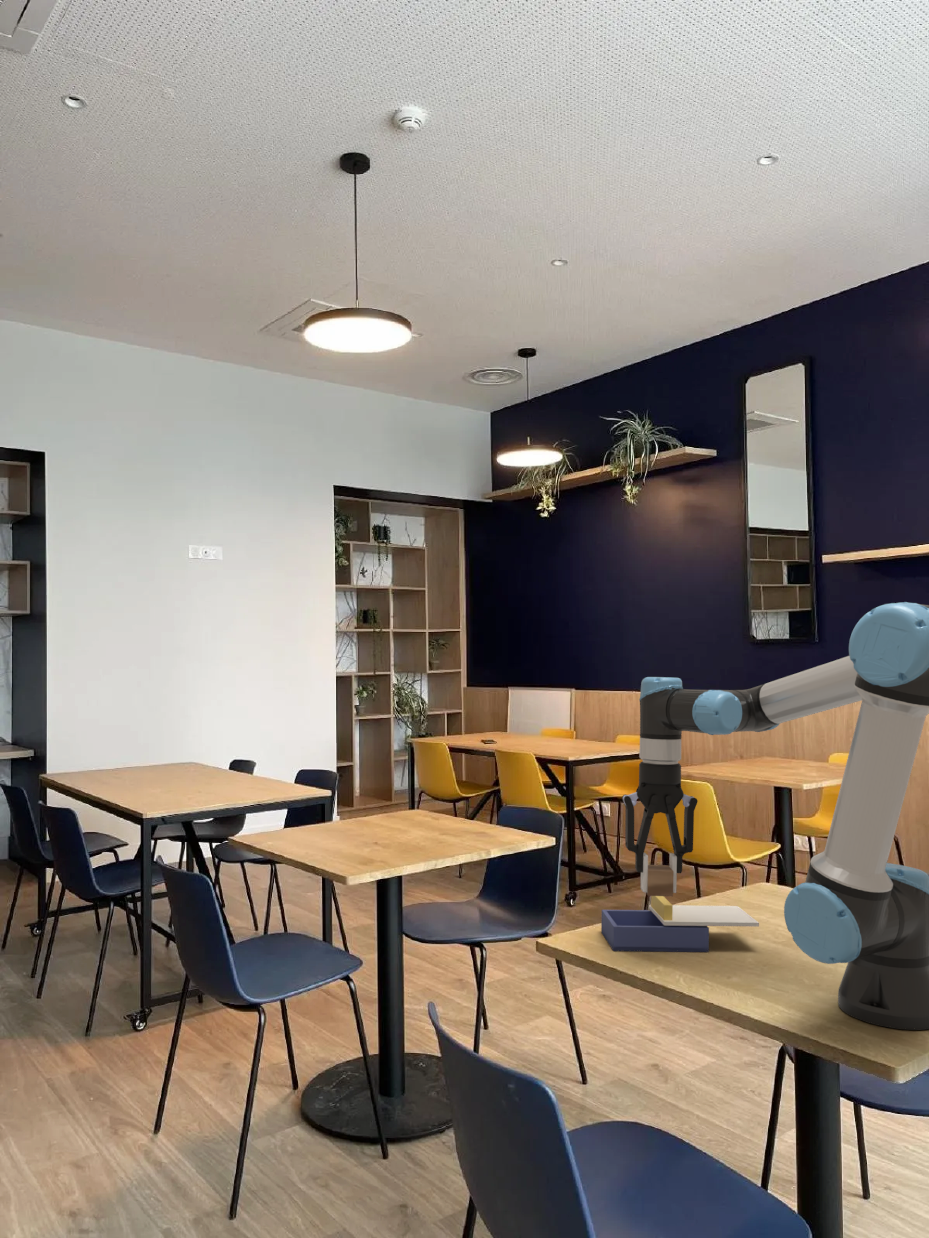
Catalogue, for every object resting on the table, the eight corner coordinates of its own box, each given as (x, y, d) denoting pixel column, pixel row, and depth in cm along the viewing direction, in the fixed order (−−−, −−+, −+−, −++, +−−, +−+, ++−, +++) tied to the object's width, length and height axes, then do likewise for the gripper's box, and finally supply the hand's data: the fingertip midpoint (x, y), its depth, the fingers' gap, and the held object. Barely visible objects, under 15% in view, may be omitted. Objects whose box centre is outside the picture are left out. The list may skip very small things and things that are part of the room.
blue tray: (708, 952, 176) (708, 927, 176) (613, 951, 175) (613, 926, 175) (690, 933, 188) (690, 910, 188) (601, 932, 187) (601, 909, 187)
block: (673, 896, 168) (673, 871, 168) (647, 895, 168) (648, 870, 168) (667, 889, 172) (668, 865, 173) (643, 889, 173) (643, 864, 173)
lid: (758, 926, 176) (759, 907, 176) (664, 925, 175) (664, 906, 176) (737, 909, 188) (737, 891, 188) (648, 908, 187) (649, 890, 188)
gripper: (703, 760, 175) (701, 886, 174) (609, 758, 175) (607, 884, 174) (713, 764, 167) (712, 897, 166) (615, 762, 167) (613, 894, 166)
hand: (658, 890), depth 170 cm, fingers closed on block, 4 cm apart
